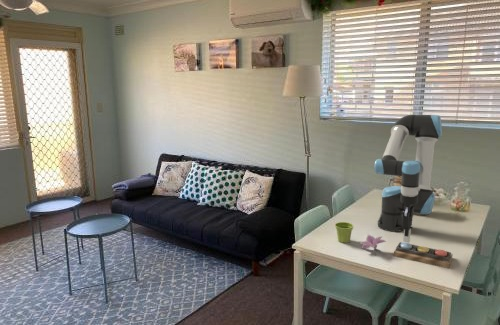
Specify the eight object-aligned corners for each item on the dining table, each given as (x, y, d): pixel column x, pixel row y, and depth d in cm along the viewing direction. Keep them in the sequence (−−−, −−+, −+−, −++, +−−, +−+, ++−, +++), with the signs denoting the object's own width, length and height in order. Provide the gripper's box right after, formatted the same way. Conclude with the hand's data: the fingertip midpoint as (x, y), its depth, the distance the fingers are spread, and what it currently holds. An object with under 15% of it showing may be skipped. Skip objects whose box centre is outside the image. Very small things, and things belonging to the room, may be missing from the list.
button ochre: (416, 252, 174) (416, 249, 174) (418, 248, 178) (418, 245, 178) (427, 254, 171) (428, 251, 171) (429, 250, 175) (430, 247, 175)
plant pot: (342, 245, 189) (343, 229, 187) (330, 239, 197) (331, 224, 196) (356, 242, 193) (357, 226, 192) (344, 236, 202) (344, 220, 200)
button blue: (399, 248, 178) (399, 245, 178) (401, 244, 182) (402, 241, 182) (410, 250, 175) (410, 247, 175) (412, 247, 179) (412, 244, 179)
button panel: (393, 255, 177) (393, 249, 176) (399, 246, 186) (399, 240, 186) (448, 268, 164) (449, 260, 163) (452, 257, 173) (452, 250, 173)
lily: (389, 253, 182) (384, 233, 185) (386, 253, 172) (381, 232, 174) (365, 257, 186) (360, 238, 189) (360, 257, 176) (355, 237, 179)
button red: (433, 255, 170) (434, 252, 169) (435, 251, 174) (435, 248, 173) (446, 258, 167) (446, 255, 167) (447, 254, 171) (447, 251, 171)
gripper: (415, 199, 166) (412, 248, 171) (420, 191, 177) (417, 238, 182) (397, 197, 170) (395, 245, 175) (404, 189, 181) (401, 235, 186)
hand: (406, 241), depth 178 cm, fingers closed
